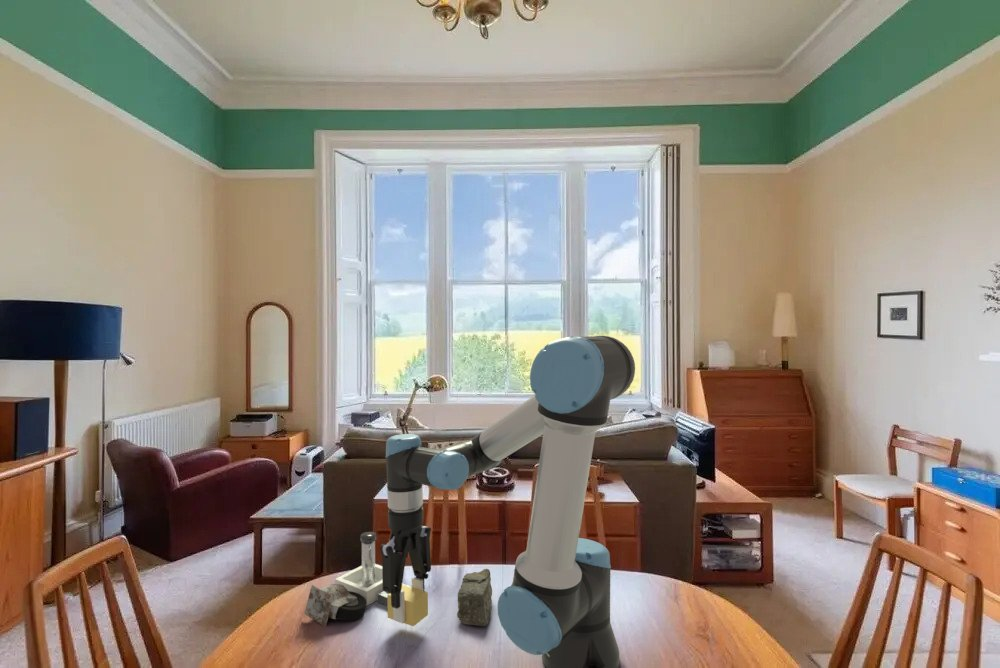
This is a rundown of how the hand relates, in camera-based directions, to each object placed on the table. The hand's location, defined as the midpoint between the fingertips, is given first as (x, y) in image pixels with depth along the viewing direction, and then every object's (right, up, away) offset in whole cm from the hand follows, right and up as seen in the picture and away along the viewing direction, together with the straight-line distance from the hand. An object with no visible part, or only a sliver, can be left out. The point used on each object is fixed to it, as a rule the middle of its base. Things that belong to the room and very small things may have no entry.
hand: (409, 614), depth 114 cm
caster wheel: (-17, -4, +6) cm, 19 cm away
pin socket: (-5, -3, +13) cm, 14 cm away
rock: (+14, -4, +8) cm, 16 cm away
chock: (0, 0, 0) cm, 1 cm away
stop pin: (-13, -3, +18) cm, 22 cm away
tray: (-13, -3, +18) cm, 22 cm away
